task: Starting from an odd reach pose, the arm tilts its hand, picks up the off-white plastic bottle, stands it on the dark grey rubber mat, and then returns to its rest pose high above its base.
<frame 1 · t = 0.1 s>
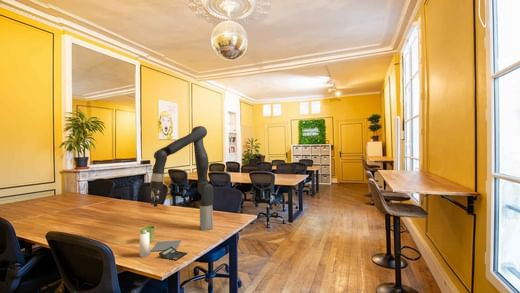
hand: (153, 205, 156), 22 cm above the table, tool pointing down, fingers open, 8 cm apart
calculator: (173, 256, 132), on the table
bottle: (144, 255, 134), on the table
plant pot: (147, 241, 154), on the table
mat: (166, 246, 146), on the table
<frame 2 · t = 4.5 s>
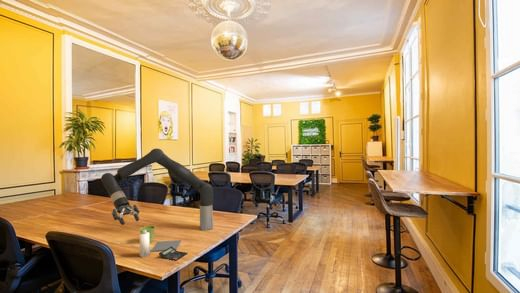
hand: (131, 222, 140), 17 cm above the table, tool tilted 45°, fingers open, 8 cm apart
nothing on the table moved.
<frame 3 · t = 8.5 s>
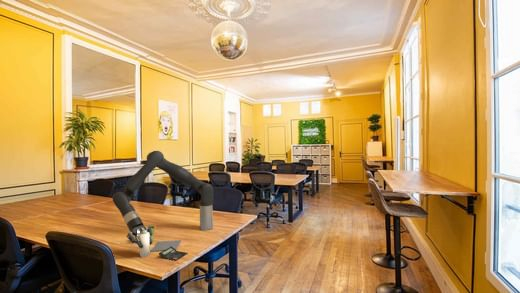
hand: (146, 245, 133), 6 cm above the table, tool tilted 45°, fingers closed on bottle, 5 cm apart
bottle: (144, 255, 134), on the table, touching gripper
everything else where it was.
when the fingers open (8 cm above the table, at t = 13.6 s): bottle drops 1 cm, resting on mat.
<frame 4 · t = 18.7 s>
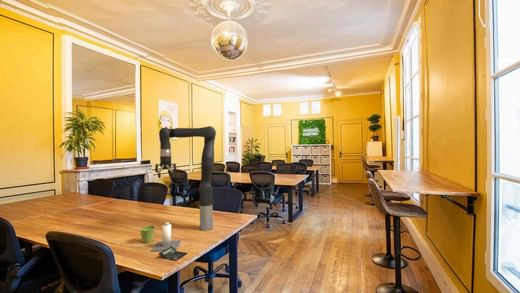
hand: (166, 178, 174), 38 cm above the table, tool pointing down, fingers open, 8 cm apart
bottle: (166, 244, 146), point 1 cm above the table, touching mat
everything else where it was.
at the end: bottle inside the target area on the mat (0.1 cm from its centre), point 0.7 cm above the mat's base; bottle tilted 2°; the gripper is holding nothing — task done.
